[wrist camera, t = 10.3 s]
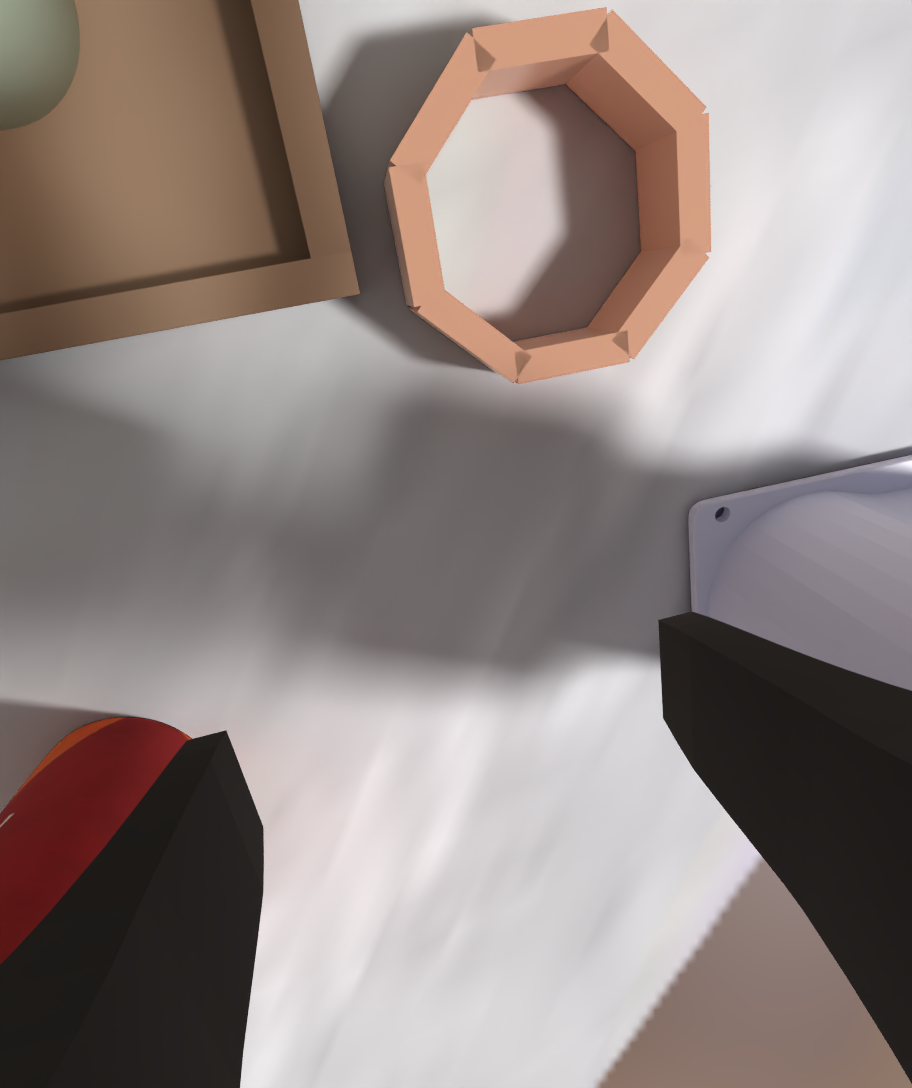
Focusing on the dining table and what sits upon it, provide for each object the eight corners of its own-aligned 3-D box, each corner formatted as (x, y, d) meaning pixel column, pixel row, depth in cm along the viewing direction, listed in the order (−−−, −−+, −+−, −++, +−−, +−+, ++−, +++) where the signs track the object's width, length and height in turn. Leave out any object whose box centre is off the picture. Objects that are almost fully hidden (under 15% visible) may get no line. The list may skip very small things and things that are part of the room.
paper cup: (-37, 721, 21) (-689, 1447, 8) (207, 663, 21) (-19, 1251, 8) (65, 896, 24) (-281, 1631, 11) (277, 841, 24) (191, 1479, 11)
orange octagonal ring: (659, 31, 17) (706, -8, 14) (671, 339, 20) (712, 345, 17) (364, 78, 16) (366, 44, 14) (422, 388, 19) (431, 401, 17)
